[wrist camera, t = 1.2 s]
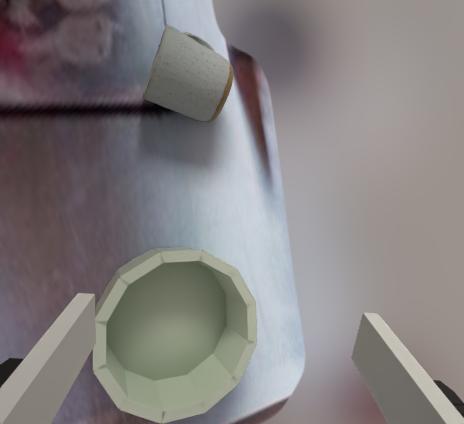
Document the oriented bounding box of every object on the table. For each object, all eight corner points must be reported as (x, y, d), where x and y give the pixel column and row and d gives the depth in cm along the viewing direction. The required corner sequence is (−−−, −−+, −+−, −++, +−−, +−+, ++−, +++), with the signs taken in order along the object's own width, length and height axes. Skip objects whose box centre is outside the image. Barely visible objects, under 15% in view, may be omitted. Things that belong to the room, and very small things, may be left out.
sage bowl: (66, 354, 30) (54, 387, 24) (143, 223, 34) (151, 221, 28) (193, 402, 35) (213, 441, 28) (250, 282, 38) (279, 292, 32)
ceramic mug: (206, 134, 37) (229, 110, 30) (138, 109, 35) (147, 76, 28) (224, 58, 39) (250, 19, 32) (162, 28, 36) (175, -22, 29)
